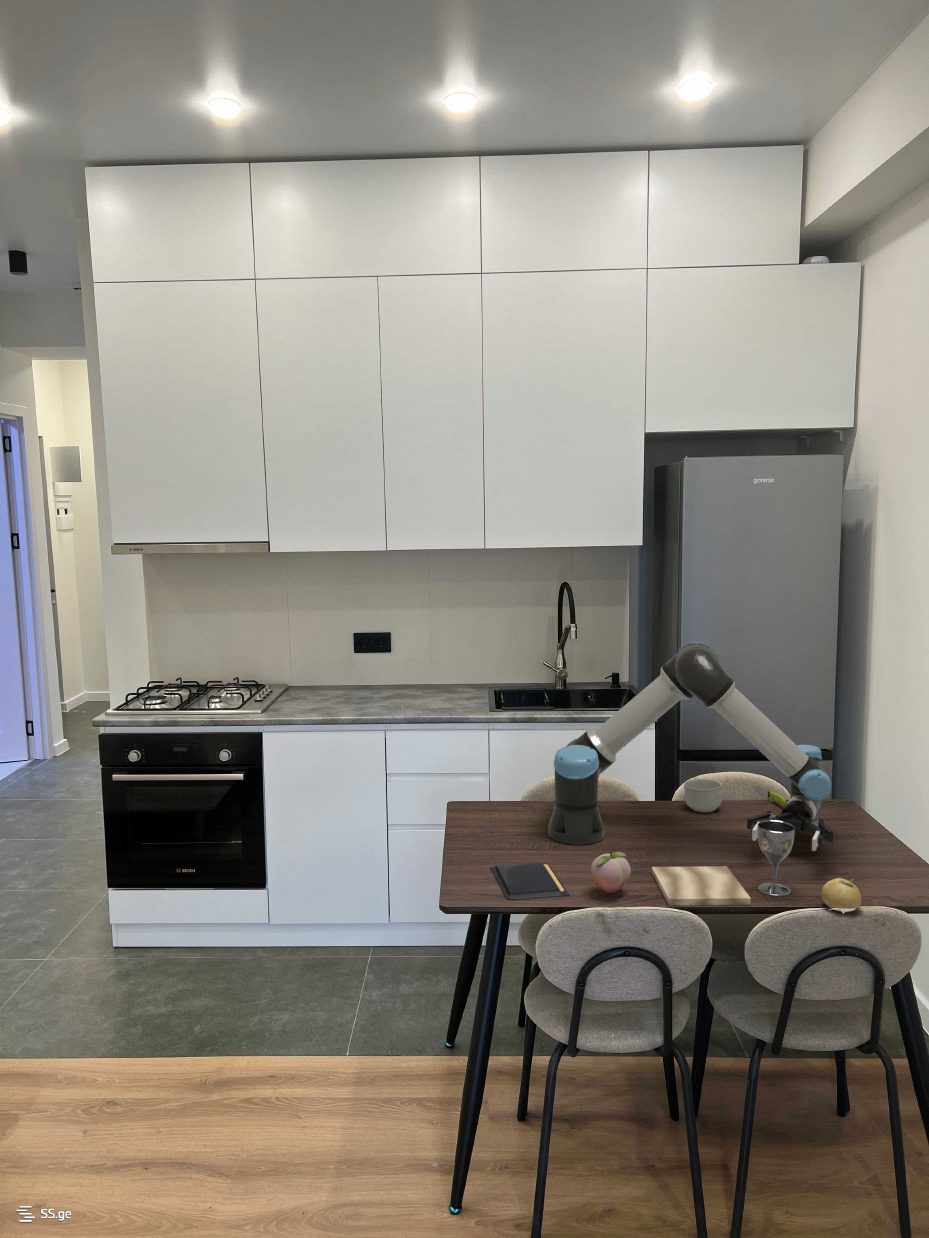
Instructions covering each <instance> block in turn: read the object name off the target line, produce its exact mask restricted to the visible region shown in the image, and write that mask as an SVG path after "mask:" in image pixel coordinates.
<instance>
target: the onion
mask: <svg viewBox="0 0 929 1238" xmlns="http://www.w3.org/2000/svg"><path fill="white" fill-rule="evenodd" d="M853 881H854V878H853V879H850V880H848V879H845V878H841V877H836V878H833V879H831V880H828V881H827V882H826V883H825V884H824V885H823V886H822V889H821V893H820V894H821V899H822V901H823V902H824V903H823V904H825V905H826V907H828V908H830V909H831V908H858V907H859V908H860V906H861V904H862V894H861V892H860V890H859V888H858V887H857V886H856V885H855V883H853ZM859 908H858V909H859Z"/></svg>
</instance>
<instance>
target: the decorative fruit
mask: <svg viewBox="0 0 929 1238" xmlns="http://www.w3.org/2000/svg"><path fill="white" fill-rule="evenodd" d="M625 857H628V855H627V854H625V853H624V852H620V851H614V852H613V851H612V850H609V853H602V854H601V855H599V856H597V857H596V858H595V859H594V860H593V861H592V863H591V866H590V874H591V877H592V880H593V882H594V884H595V885H596V886H597V888H599V889H600V890H602V891H604V892H605V893H609V894H613V893H615V892H618V891H619V890H621V889H622V888H623V887H624V886H625V885H626V884H627V882H628V881H629V879H630V877H631V874H632V873H631V872H632V869H631V868H632V867H631V865H630V863H629V862H628V860H627V859H626V858H625Z"/></svg>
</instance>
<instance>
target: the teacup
mask: <svg viewBox="0 0 929 1238" xmlns="http://www.w3.org/2000/svg"><path fill="white" fill-rule="evenodd" d="M683 787H684V800H685V803H686V805H687V807H688V808H690V809H691V810H692V811H694V812H697V813H711V812H712V813H713V812H715V810H717V809H718V808H720V806H721V804H722V802H723V801H722V800H723V799H722V797H723V792H722V791H723V789H722V788H723V784H722V782H721V781H720V780H719V781H718V780H716V779H712V778H700V777H699V776H696V777H694V778H693V779H688V780H686V781H685V782H684V783H683Z"/></svg>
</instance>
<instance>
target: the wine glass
mask: <svg viewBox="0 0 929 1238" xmlns="http://www.w3.org/2000/svg"><path fill="white" fill-rule="evenodd" d="M795 833H796V832H795V828H794V826H793V825H791V824H789V823H786V822H782V821H775V820H766V821H761V822H759V823H758V838H757V841H758V846H759V848H760V850H761V852H762V854H764V856H765V857H766V858H767V859H768V861H769V863H770V864H771V869H772V870H771V871H772V882H763V883H760V884H758V886H757V889H758V890H759V891H760V892H761V893H764V894H765V895H769V896H776V897H783V896H784V897H785V896H787V895H788V896H789V895H790V894H791V892H792V891H791V889H790V888H789V887H788V886H786V885H784V884H781V883H777V874H778V868H779V866H780V863H781V862H782V861H783V860H785V858H786V857H788V856H789V854H791V851H792V849H793V845H794V842H795V841H794V840H795Z"/></svg>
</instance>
